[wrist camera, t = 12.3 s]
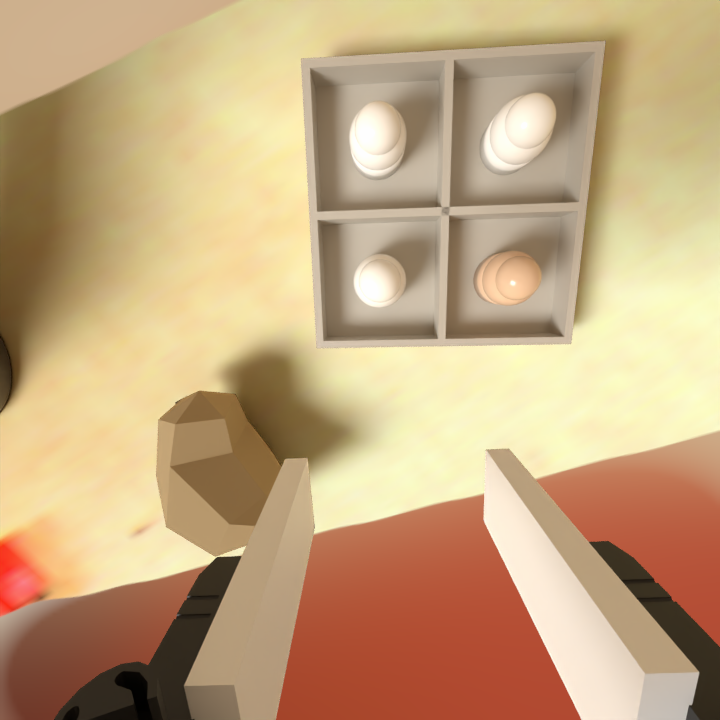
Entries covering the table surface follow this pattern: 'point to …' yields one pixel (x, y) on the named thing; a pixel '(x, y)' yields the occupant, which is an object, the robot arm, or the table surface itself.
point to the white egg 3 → (518, 133)
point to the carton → (448, 193)
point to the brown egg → (507, 278)
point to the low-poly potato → (212, 471)
